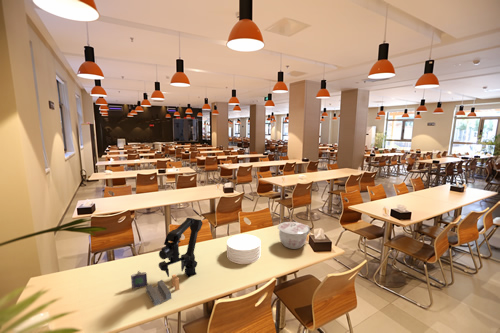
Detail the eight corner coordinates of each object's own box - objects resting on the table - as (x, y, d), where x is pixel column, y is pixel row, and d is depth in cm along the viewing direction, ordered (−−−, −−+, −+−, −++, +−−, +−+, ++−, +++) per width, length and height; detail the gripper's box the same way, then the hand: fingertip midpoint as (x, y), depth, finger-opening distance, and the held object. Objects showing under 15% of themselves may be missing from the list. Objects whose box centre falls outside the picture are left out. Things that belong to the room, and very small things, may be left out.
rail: (162, 285, 155) (162, 279, 155) (171, 298, 143) (171, 292, 142) (146, 291, 149) (146, 286, 148) (154, 306, 137) (154, 300, 136)
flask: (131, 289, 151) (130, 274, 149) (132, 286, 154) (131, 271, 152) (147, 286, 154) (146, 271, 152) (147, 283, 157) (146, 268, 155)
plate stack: (261, 264, 180) (261, 250, 178) (224, 263, 181) (224, 250, 179) (260, 246, 208) (260, 234, 206) (228, 246, 208) (228, 233, 207)
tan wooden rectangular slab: (175, 284, 156) (175, 274, 155) (179, 289, 151) (179, 278, 150) (172, 286, 154) (171, 275, 153) (175, 290, 150) (175, 280, 149)
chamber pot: (274, 250, 201) (274, 227, 198) (279, 236, 227) (280, 216, 224) (307, 255, 193) (309, 231, 190) (309, 240, 219) (310, 219, 216)
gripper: (182, 242, 161) (183, 263, 163) (155, 250, 149) (156, 273, 152) (189, 248, 152) (190, 270, 155) (160, 258, 141) (162, 281, 143)
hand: (175, 273), depth 151 cm, fingers open, 9 cm apart
